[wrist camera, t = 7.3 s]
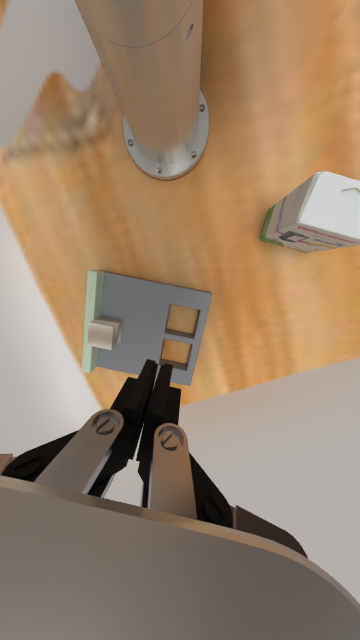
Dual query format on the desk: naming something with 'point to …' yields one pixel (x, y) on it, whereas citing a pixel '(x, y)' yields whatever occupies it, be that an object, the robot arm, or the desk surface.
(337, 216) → the ink box
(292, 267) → the desk surface
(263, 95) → the desk surface
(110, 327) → the cream block
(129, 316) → the trap deck
